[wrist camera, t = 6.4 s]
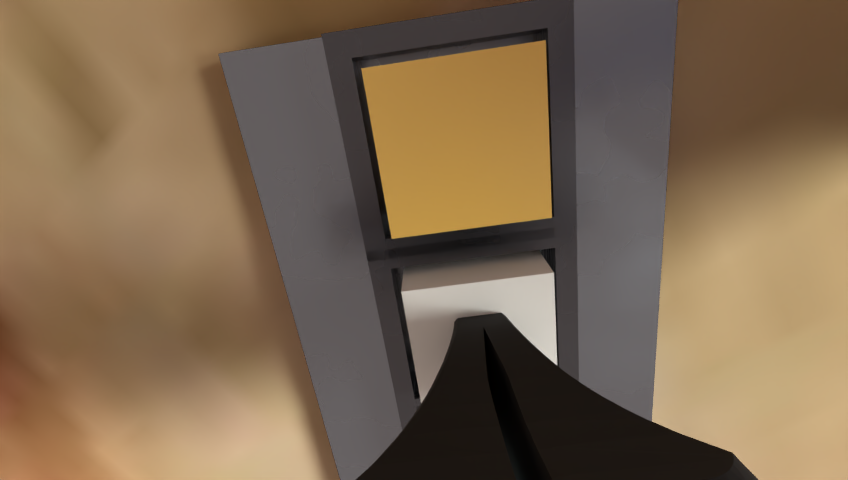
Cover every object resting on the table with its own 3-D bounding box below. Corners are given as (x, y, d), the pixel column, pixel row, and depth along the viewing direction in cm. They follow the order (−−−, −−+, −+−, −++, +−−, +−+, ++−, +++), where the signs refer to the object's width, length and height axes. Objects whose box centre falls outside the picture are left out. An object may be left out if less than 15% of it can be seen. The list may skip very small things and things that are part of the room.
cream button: (534, 244, 13) (554, 272, 11) (540, 354, 14) (558, 396, 12) (404, 261, 13) (401, 291, 11) (422, 368, 14) (422, 411, 12)
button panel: (654, -10, 12) (715, -34, 9) (633, 451, 18) (667, 510, 15) (237, 56, 12) (190, 49, 10) (352, 479, 18) (341, 541, 16)
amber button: (524, 47, 11) (545, 40, 9) (532, 197, 12) (552, 217, 10) (372, 70, 11) (361, 68, 9) (396, 215, 12) (391, 238, 10)
